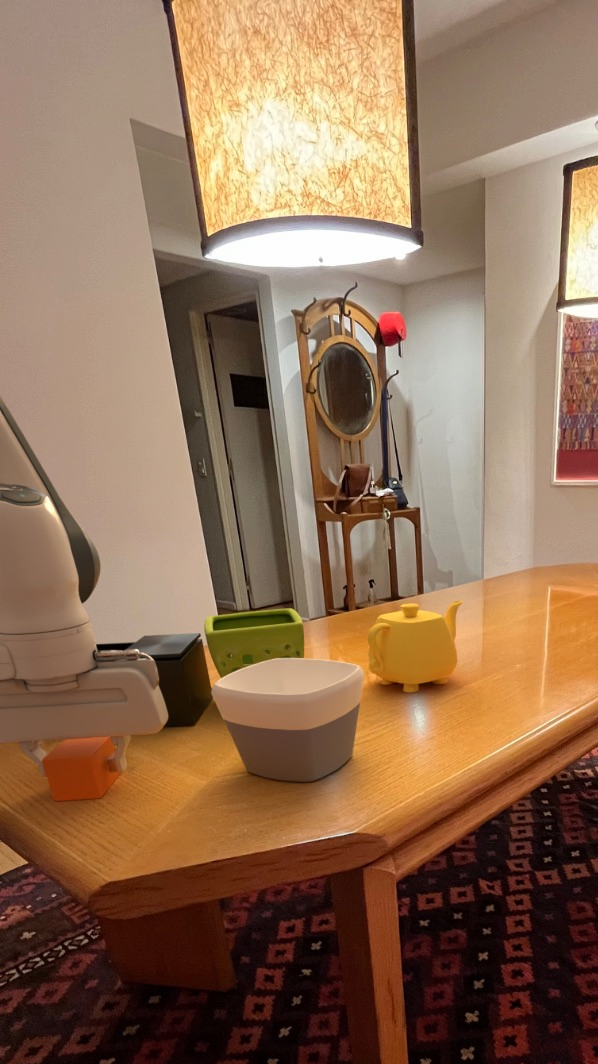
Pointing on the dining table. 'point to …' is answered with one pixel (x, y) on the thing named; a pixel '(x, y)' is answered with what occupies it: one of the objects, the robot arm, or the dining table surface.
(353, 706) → the bowl
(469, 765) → the dining table surface
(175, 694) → the black lidded box
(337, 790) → the dining table surface
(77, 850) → the dining table surface
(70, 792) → the cube
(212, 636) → the flower pot
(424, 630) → the teapot
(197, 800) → the dining table surface
